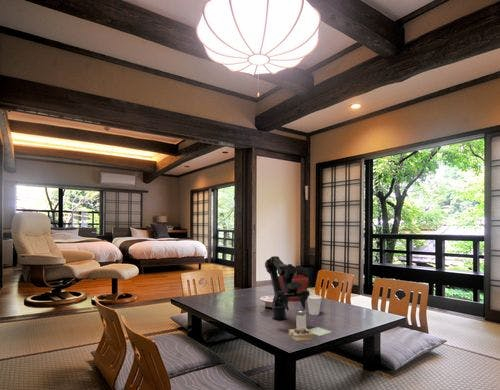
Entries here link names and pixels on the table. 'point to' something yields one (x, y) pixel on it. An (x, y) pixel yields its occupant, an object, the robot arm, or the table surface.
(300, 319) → the salt shaker
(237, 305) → the table surface
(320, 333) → the pad
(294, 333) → the bore block
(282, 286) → the plant pot
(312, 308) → the cup
